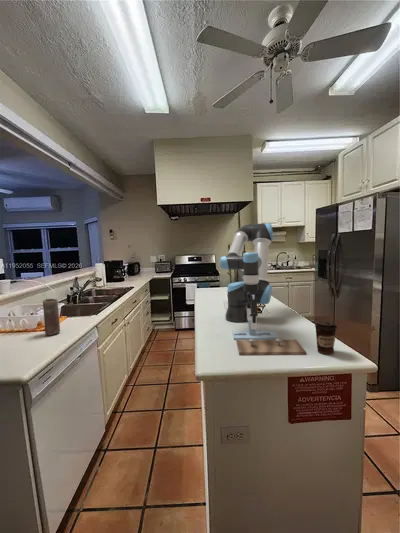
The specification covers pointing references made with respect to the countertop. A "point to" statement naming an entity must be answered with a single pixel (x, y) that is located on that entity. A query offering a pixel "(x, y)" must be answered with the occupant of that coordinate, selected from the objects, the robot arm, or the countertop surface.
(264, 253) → the robot arm
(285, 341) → the boss board
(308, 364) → the countertop surface
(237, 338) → the panel
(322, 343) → the coffee cup
